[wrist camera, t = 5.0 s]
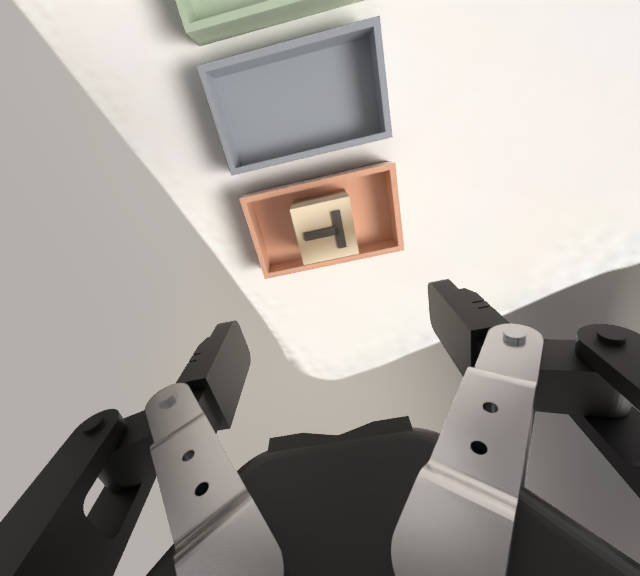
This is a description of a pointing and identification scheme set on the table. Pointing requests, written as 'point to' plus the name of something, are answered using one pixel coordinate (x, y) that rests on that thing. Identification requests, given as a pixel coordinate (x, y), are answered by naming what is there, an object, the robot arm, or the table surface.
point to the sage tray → (244, 15)
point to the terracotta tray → (360, 184)
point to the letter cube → (324, 226)
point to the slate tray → (300, 97)
